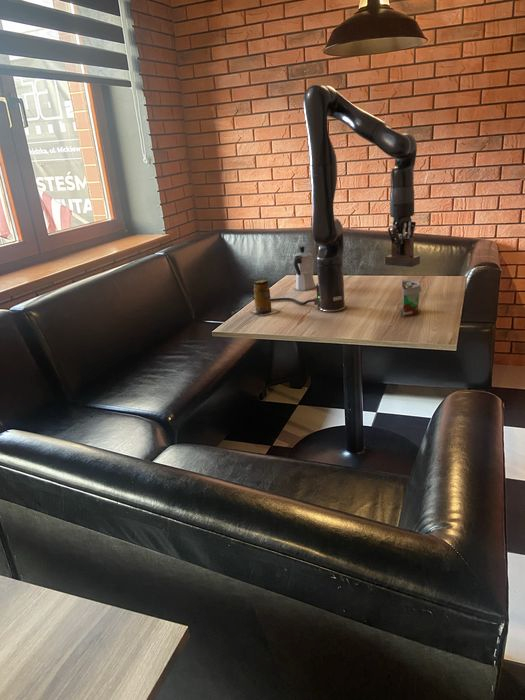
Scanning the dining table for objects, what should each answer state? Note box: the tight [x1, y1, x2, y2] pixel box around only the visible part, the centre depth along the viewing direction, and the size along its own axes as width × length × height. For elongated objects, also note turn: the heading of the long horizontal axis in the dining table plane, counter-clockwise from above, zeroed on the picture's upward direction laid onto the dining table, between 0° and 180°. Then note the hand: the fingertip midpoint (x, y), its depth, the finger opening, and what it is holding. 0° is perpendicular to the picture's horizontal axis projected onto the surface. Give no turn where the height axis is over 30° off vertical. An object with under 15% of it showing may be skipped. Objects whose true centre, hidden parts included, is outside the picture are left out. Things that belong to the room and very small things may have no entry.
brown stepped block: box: [384, 237, 421, 268], centre depth 176 cm, size 10×5×9 cm, turn 45°
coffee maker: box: [292, 245, 316, 291], centre depth 228 cm, size 15×9×18 cm, turn 154°
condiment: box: [250, 279, 279, 316], centre depth 202 cm, size 7×8×12 cm
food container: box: [401, 280, 422, 318], centre depth 183 cm, size 12×6×10 cm, turn 169°
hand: (402, 254), depth 177 cm, fingers closed on brown stepped block
